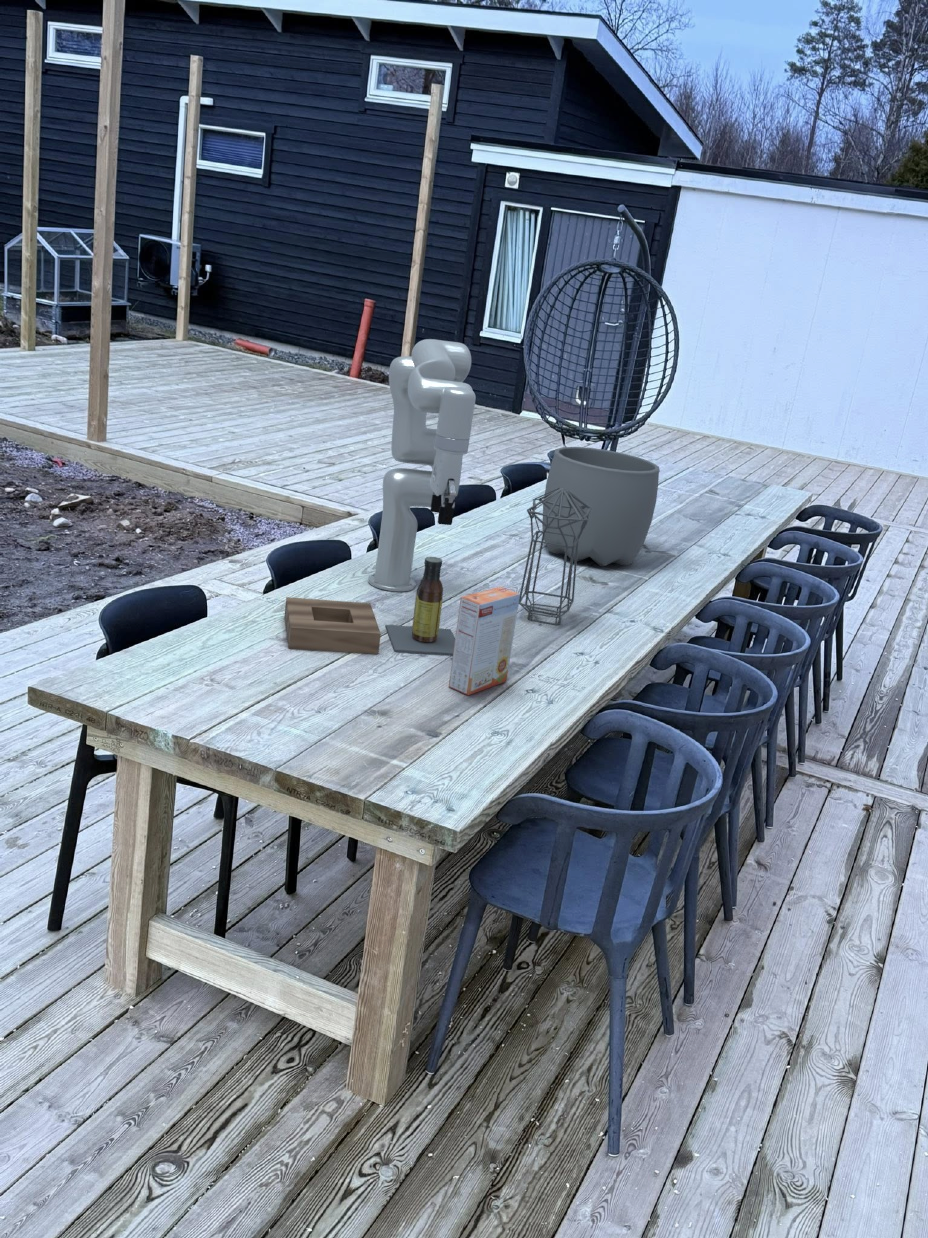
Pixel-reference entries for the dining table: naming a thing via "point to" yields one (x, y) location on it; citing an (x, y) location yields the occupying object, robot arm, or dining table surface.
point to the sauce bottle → (428, 602)
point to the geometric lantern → (577, 510)
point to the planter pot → (602, 503)
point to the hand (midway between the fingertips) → (440, 518)
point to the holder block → (331, 626)
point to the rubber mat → (407, 644)
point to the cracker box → (483, 640)
